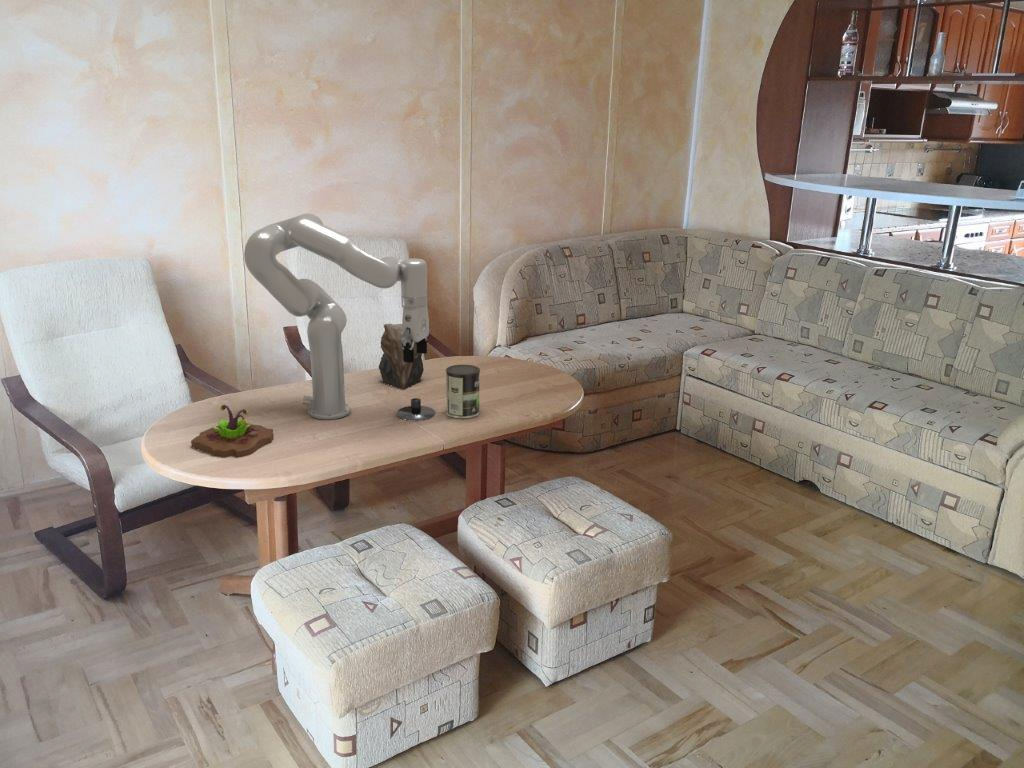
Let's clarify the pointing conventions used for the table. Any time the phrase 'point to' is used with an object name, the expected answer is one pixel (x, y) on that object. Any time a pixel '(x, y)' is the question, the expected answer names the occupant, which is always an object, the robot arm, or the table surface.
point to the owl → (398, 360)
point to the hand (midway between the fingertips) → (415, 357)
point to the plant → (233, 437)
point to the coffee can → (462, 391)
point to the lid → (416, 411)
